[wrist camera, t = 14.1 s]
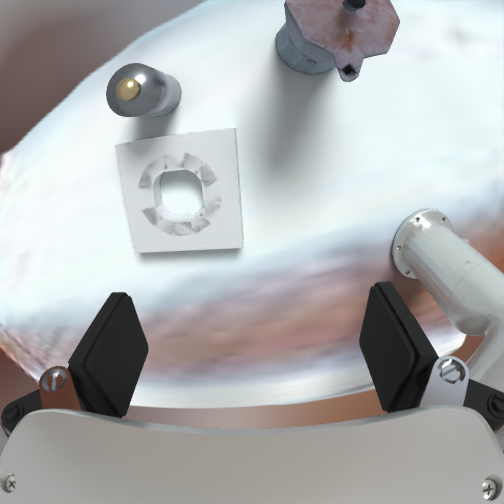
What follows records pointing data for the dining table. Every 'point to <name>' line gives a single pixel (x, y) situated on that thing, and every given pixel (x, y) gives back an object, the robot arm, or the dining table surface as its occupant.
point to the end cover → (142, 91)
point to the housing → (213, 187)
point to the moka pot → (335, 34)
